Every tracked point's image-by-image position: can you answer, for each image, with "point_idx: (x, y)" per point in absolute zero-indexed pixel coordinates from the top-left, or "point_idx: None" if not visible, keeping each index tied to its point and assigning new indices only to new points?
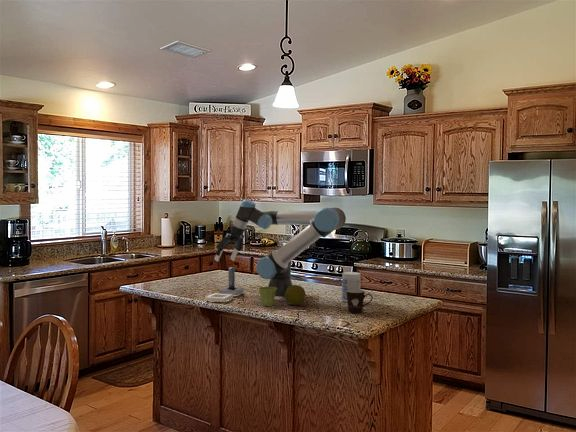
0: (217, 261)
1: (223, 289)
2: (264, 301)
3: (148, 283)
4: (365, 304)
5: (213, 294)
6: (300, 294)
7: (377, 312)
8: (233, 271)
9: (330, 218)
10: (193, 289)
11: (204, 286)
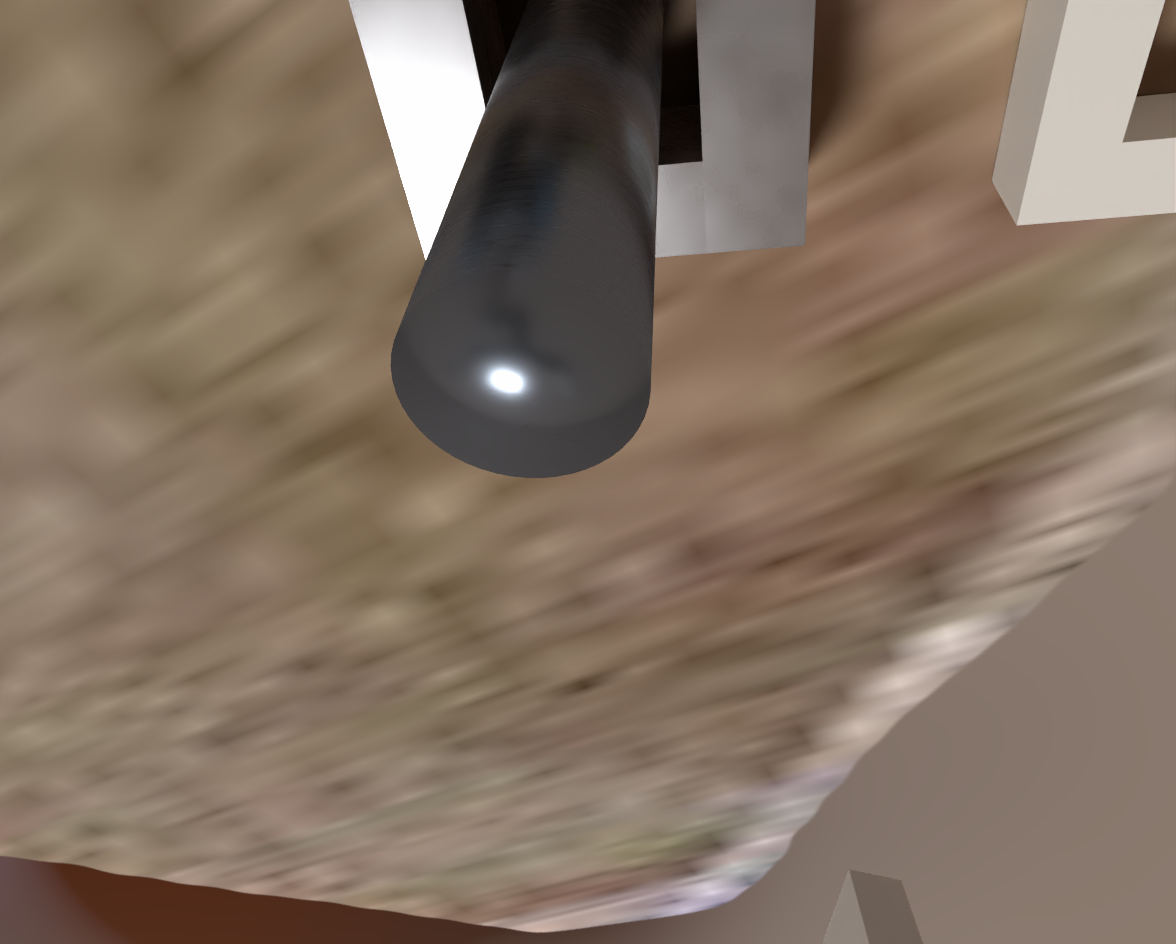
0: (900, 884)
1: (755, 182)
2: None
3: (472, 910)
4: None
5: (1158, 174)
6: None
7: None
8: (574, 208)
9: None
10: (497, 648)
11: (279, 633)
